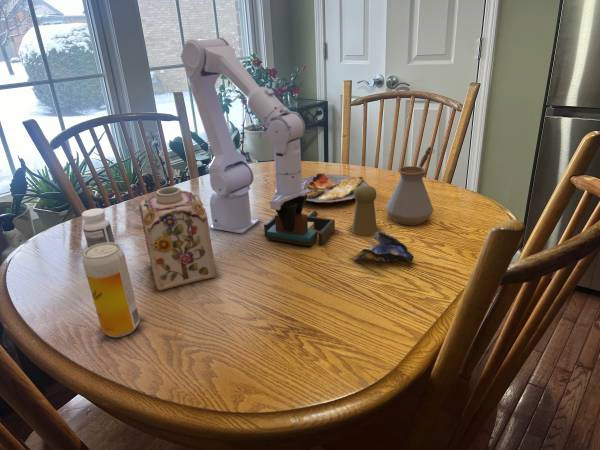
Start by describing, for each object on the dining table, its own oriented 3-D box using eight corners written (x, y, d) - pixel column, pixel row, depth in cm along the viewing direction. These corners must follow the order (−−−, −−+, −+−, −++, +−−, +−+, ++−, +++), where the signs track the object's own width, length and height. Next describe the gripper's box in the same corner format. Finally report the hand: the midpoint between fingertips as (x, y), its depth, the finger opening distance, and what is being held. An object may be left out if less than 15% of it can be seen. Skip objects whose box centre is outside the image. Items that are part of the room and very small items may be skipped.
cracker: (288, 235, 104) (288, 226, 103) (295, 228, 108) (295, 219, 107) (307, 238, 102) (307, 229, 101) (314, 231, 106) (314, 222, 105)
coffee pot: (424, 231, 103) (429, 170, 97) (378, 223, 109) (380, 165, 102) (447, 202, 119) (453, 148, 113) (406, 195, 125) (410, 144, 119)
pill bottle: (104, 244, 105) (94, 205, 100) (121, 248, 102) (112, 209, 98) (84, 254, 100) (73, 215, 96) (102, 259, 97) (91, 218, 93)
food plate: (317, 176, 145) (317, 165, 144) (381, 187, 132) (381, 176, 131) (270, 199, 127) (269, 188, 126) (338, 215, 114) (338, 202, 113)
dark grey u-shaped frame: (264, 236, 105) (263, 224, 104) (289, 215, 116) (288, 204, 115) (321, 245, 99) (321, 233, 98) (342, 222, 110) (341, 211, 109)
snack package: (361, 243, 99) (347, 266, 89) (367, 217, 97) (353, 238, 87) (414, 258, 96) (405, 284, 86) (421, 232, 93) (413, 256, 83)
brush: (266, 239, 102) (264, 215, 99) (275, 231, 106) (274, 208, 103) (310, 246, 98) (309, 221, 95) (317, 238, 101) (317, 214, 99)
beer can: (109, 318, 77) (88, 242, 71) (144, 315, 77) (126, 239, 71) (97, 341, 71) (74, 260, 65) (135, 337, 72) (115, 257, 66)
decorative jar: (150, 265, 94) (134, 186, 86) (204, 253, 98) (193, 176, 90) (157, 293, 84) (139, 206, 76) (217, 278, 88) (205, 194, 80)
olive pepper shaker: (376, 236, 102) (377, 192, 97) (350, 235, 103) (350, 191, 99) (377, 225, 107) (379, 183, 103) (353, 224, 109) (353, 182, 104)
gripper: (290, 183, 87) (293, 243, 93) (318, 163, 99) (319, 218, 105) (259, 179, 90) (264, 238, 96) (290, 160, 102) (293, 214, 108)
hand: (291, 227), depth 100 cm, fingers closed on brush, 2 cm apart
